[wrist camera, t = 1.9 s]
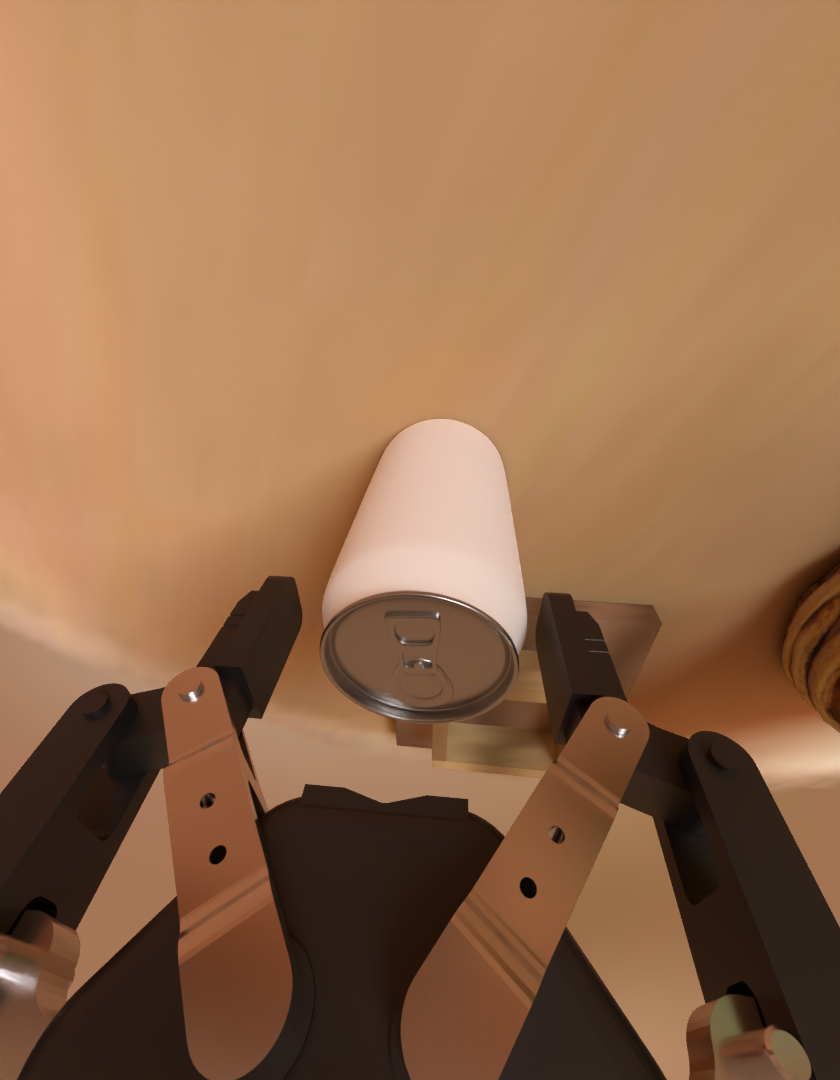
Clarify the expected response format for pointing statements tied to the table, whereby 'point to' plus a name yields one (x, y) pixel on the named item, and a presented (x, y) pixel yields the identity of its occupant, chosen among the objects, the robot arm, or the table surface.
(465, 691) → the can
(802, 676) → the tankard
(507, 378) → the table surface
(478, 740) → the socket stand
